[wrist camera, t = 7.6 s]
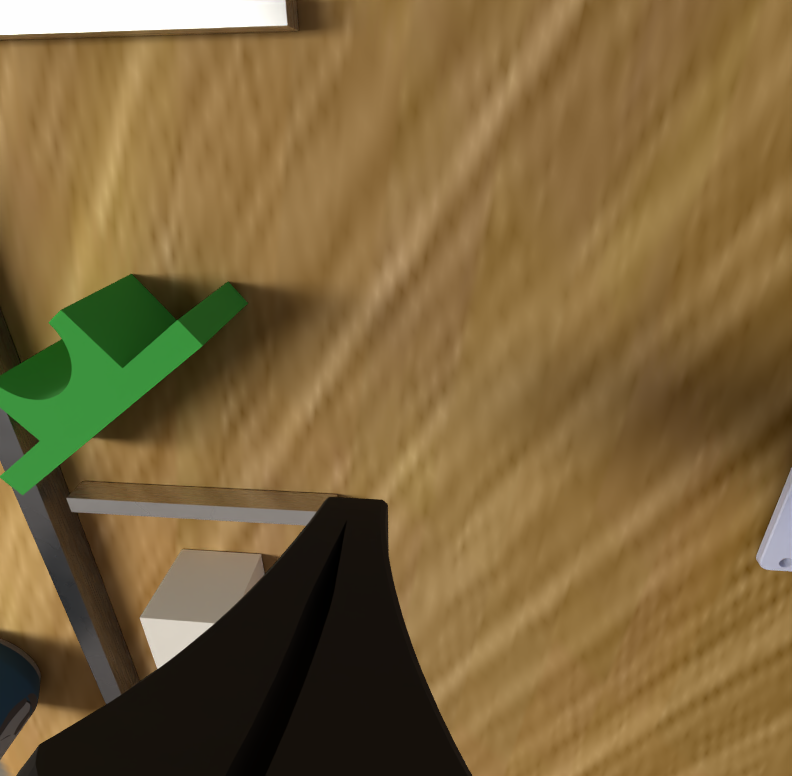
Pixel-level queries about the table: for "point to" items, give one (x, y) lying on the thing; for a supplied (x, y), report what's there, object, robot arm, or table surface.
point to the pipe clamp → (101, 368)
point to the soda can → (16, 692)
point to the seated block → (196, 597)
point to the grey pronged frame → (3, 436)
